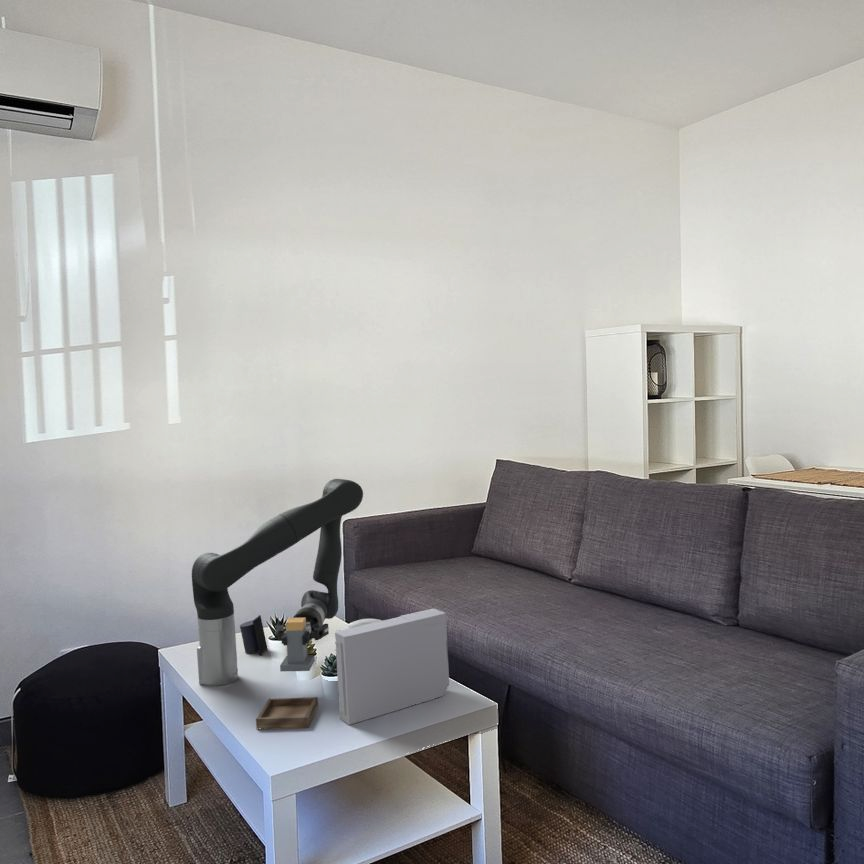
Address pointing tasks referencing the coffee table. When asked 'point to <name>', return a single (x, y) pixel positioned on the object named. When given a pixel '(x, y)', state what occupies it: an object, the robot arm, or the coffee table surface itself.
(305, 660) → the plug
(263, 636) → the speaker
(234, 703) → the coffee table surface
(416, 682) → the game console
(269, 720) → the tray
